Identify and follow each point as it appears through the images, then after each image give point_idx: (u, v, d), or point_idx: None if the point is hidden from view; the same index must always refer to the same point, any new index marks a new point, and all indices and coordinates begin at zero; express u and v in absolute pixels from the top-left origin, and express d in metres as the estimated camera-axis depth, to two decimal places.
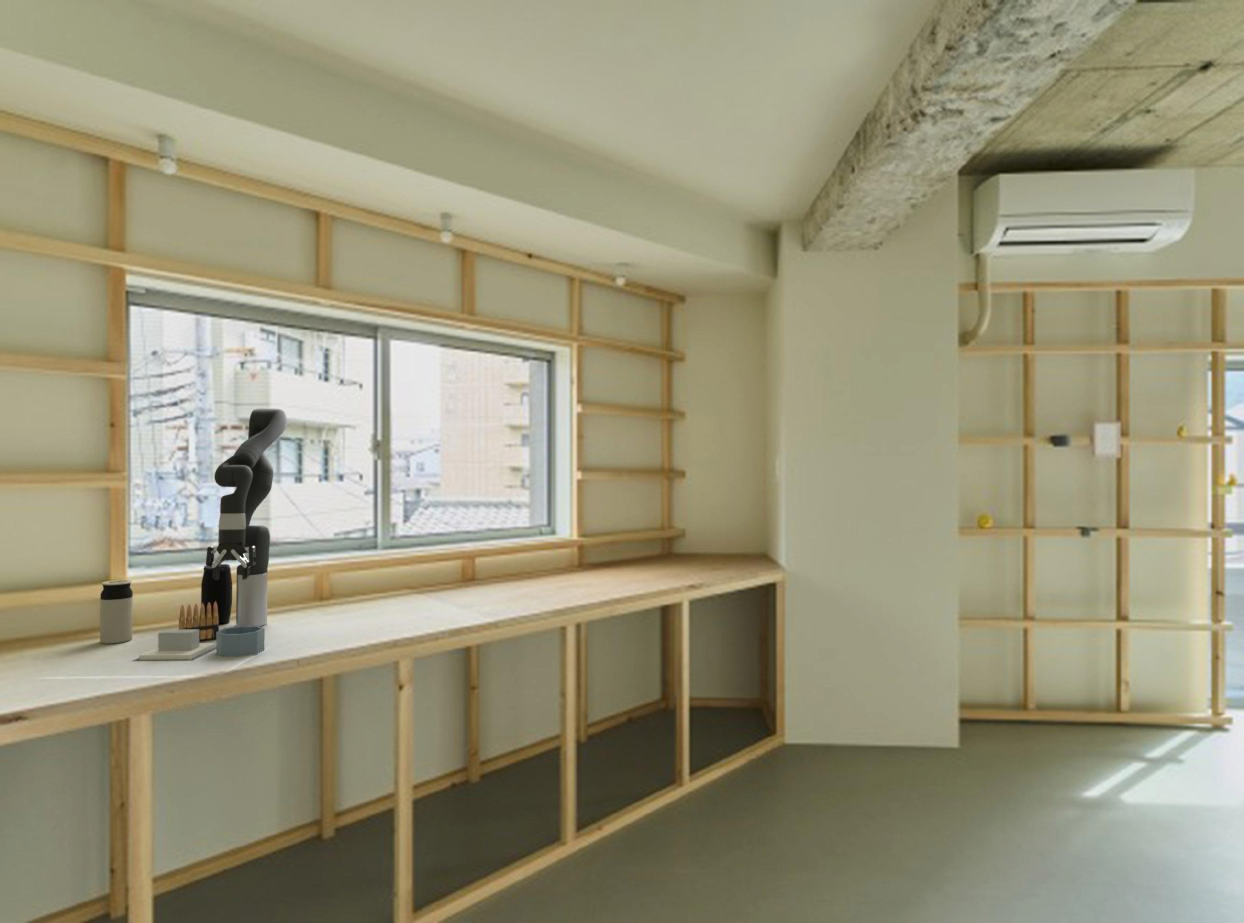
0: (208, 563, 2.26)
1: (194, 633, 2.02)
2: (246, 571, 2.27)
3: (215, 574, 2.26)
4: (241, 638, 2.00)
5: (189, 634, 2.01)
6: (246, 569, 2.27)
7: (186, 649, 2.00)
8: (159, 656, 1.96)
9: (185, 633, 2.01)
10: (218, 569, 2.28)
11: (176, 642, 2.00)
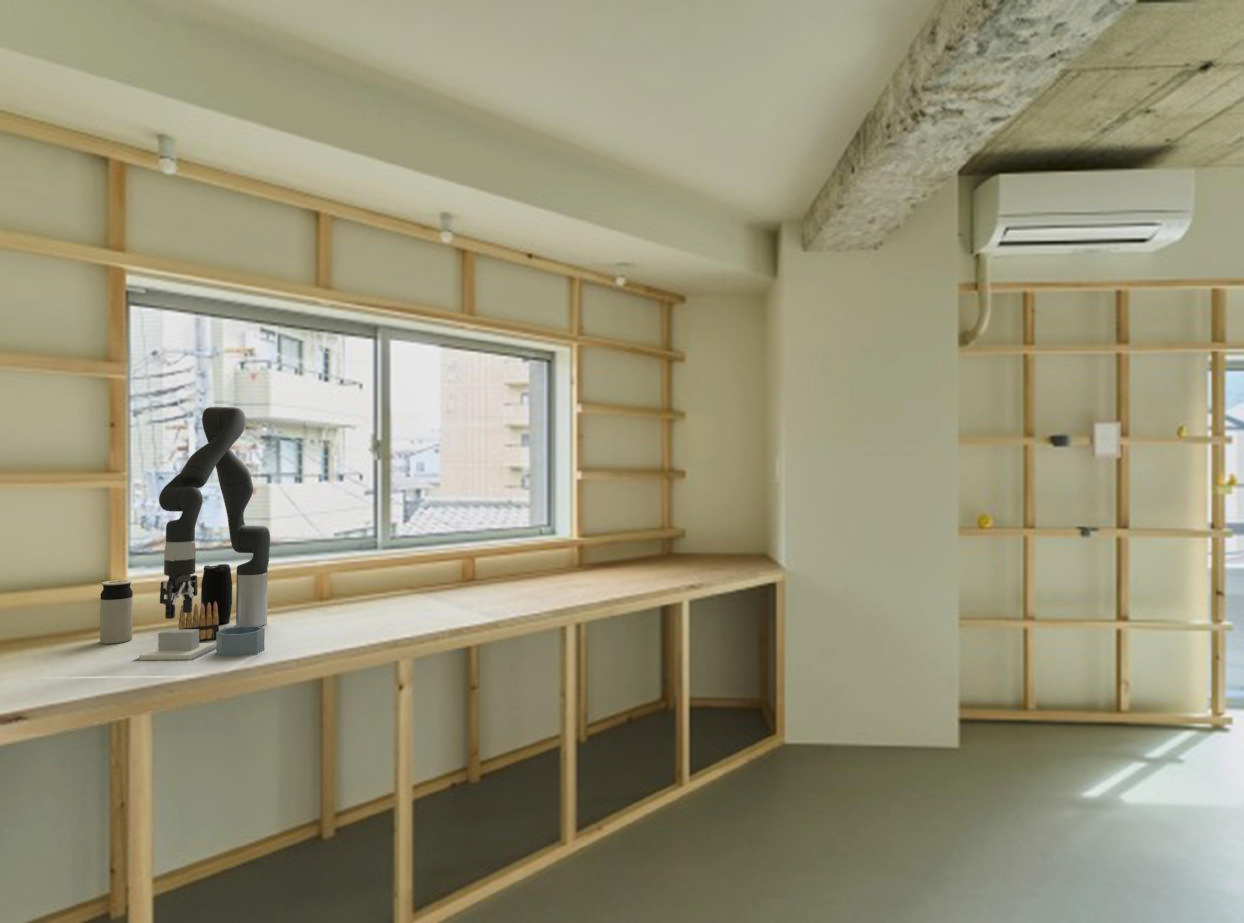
0: (170, 600, 1.96)
1: (194, 633, 2.02)
2: (191, 603, 2.07)
3: (174, 612, 1.98)
4: (241, 638, 2.00)
5: (189, 634, 2.01)
6: (191, 601, 2.07)
7: (186, 649, 2.00)
8: (159, 656, 1.96)
9: (185, 633, 2.01)
10: None
11: (176, 642, 2.00)
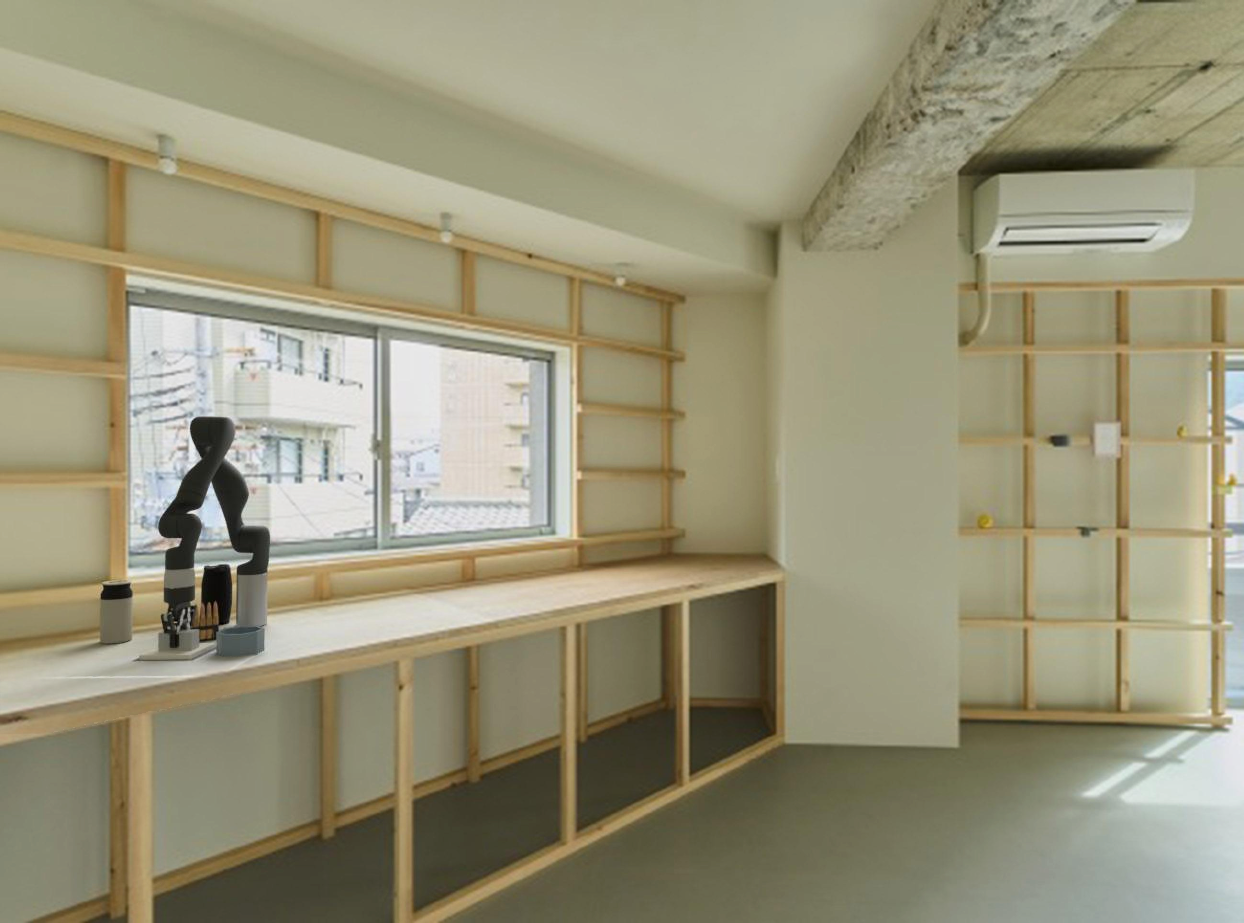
0: (174, 630, 1.98)
1: (194, 633, 2.02)
2: None
3: (178, 641, 2.00)
4: (241, 638, 2.00)
5: (189, 634, 2.01)
6: None
7: (186, 649, 2.00)
8: (159, 656, 1.96)
9: (185, 633, 2.01)
10: None
11: None
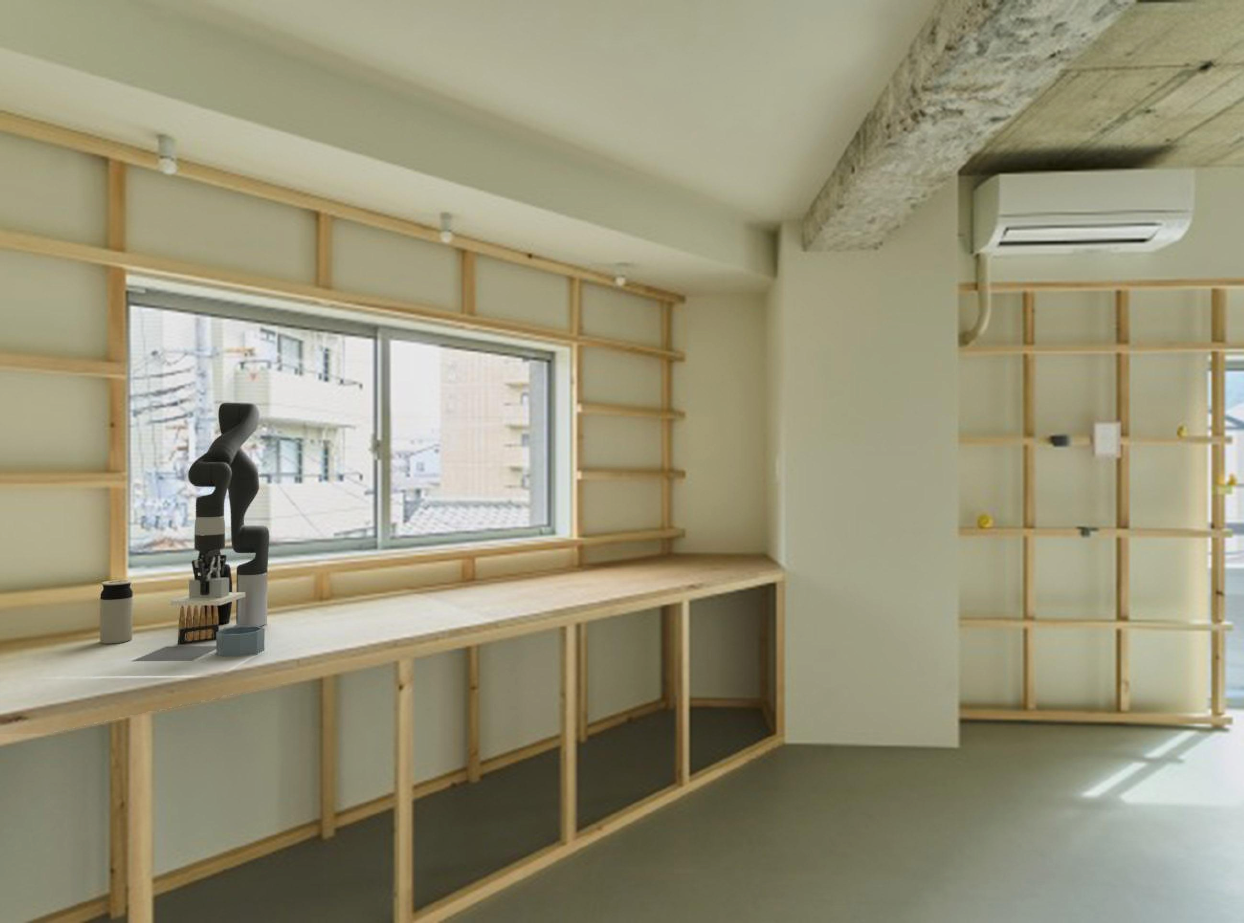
0: (205, 577, 2.00)
1: (224, 581, 2.03)
2: None
3: (208, 588, 2.02)
4: (241, 638, 2.00)
5: (219, 581, 2.02)
6: None
7: (216, 596, 2.02)
8: (190, 602, 1.97)
9: (216, 580, 2.02)
10: None
11: None
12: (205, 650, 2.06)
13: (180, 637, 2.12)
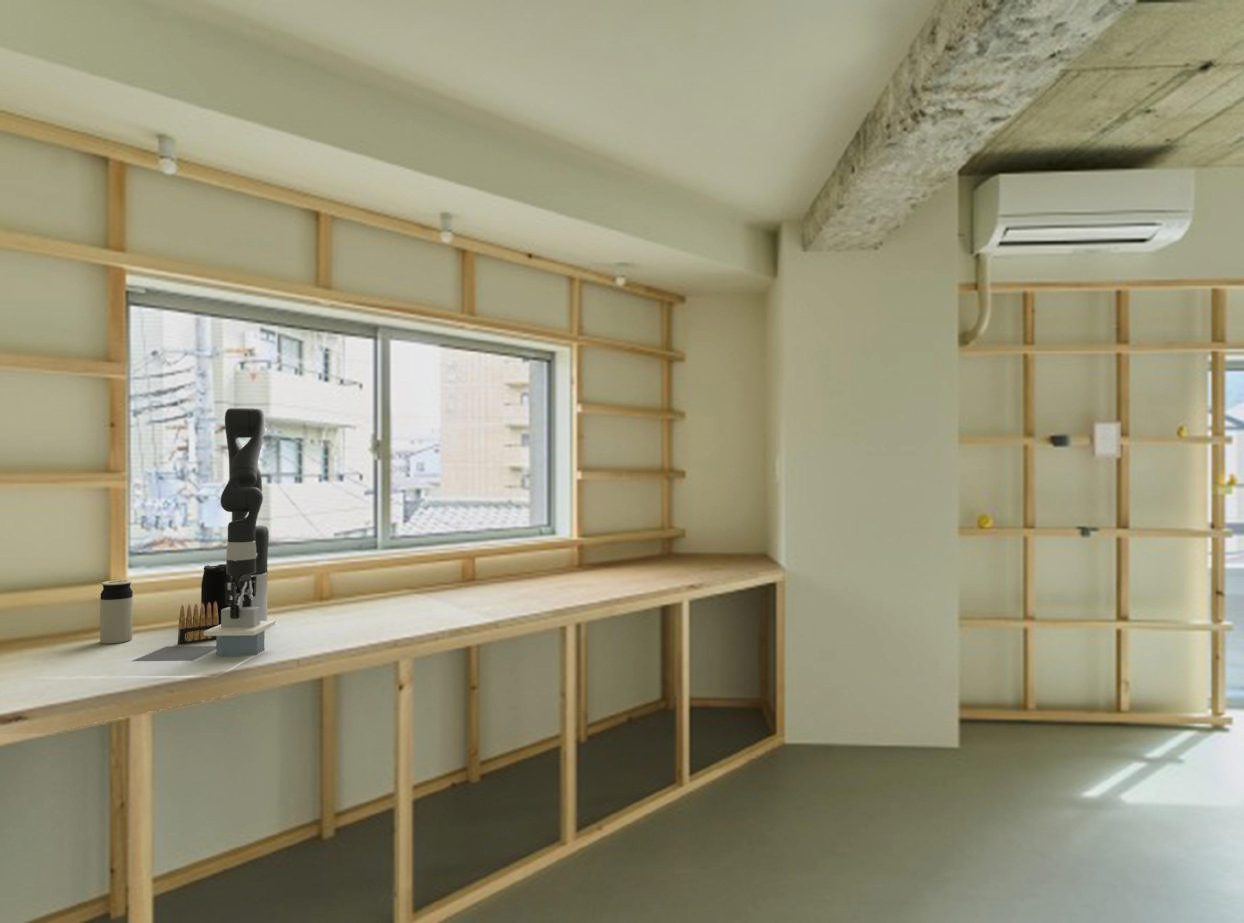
0: (235, 601, 2.00)
1: (256, 610, 2.05)
2: (250, 604, 2.09)
3: (238, 612, 2.02)
4: (241, 638, 2.00)
5: (251, 611, 2.03)
6: (250, 602, 2.09)
7: (248, 626, 2.03)
8: (223, 632, 1.98)
9: (248, 610, 2.03)
10: None
11: (239, 619, 2.03)
12: (205, 650, 2.06)
13: (180, 637, 2.12)
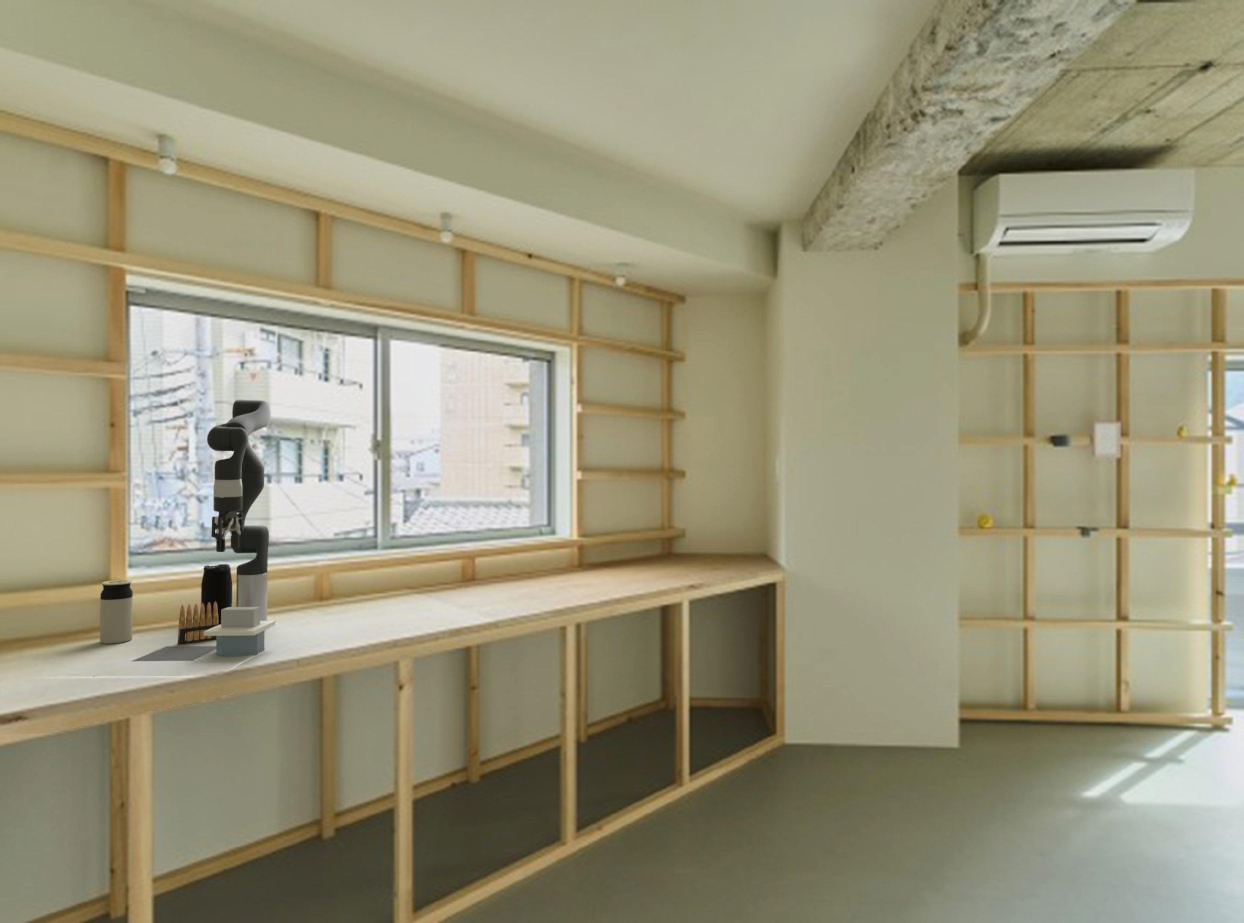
0: (221, 534, 2.07)
1: (256, 610, 2.05)
2: (238, 539, 2.18)
3: (224, 545, 2.09)
4: (241, 638, 2.00)
5: (251, 611, 2.03)
6: (238, 537, 2.18)
7: (248, 626, 2.03)
8: (223, 632, 1.98)
9: (248, 610, 2.03)
10: None
11: (239, 619, 2.03)
12: (205, 650, 2.06)
13: (180, 637, 2.12)
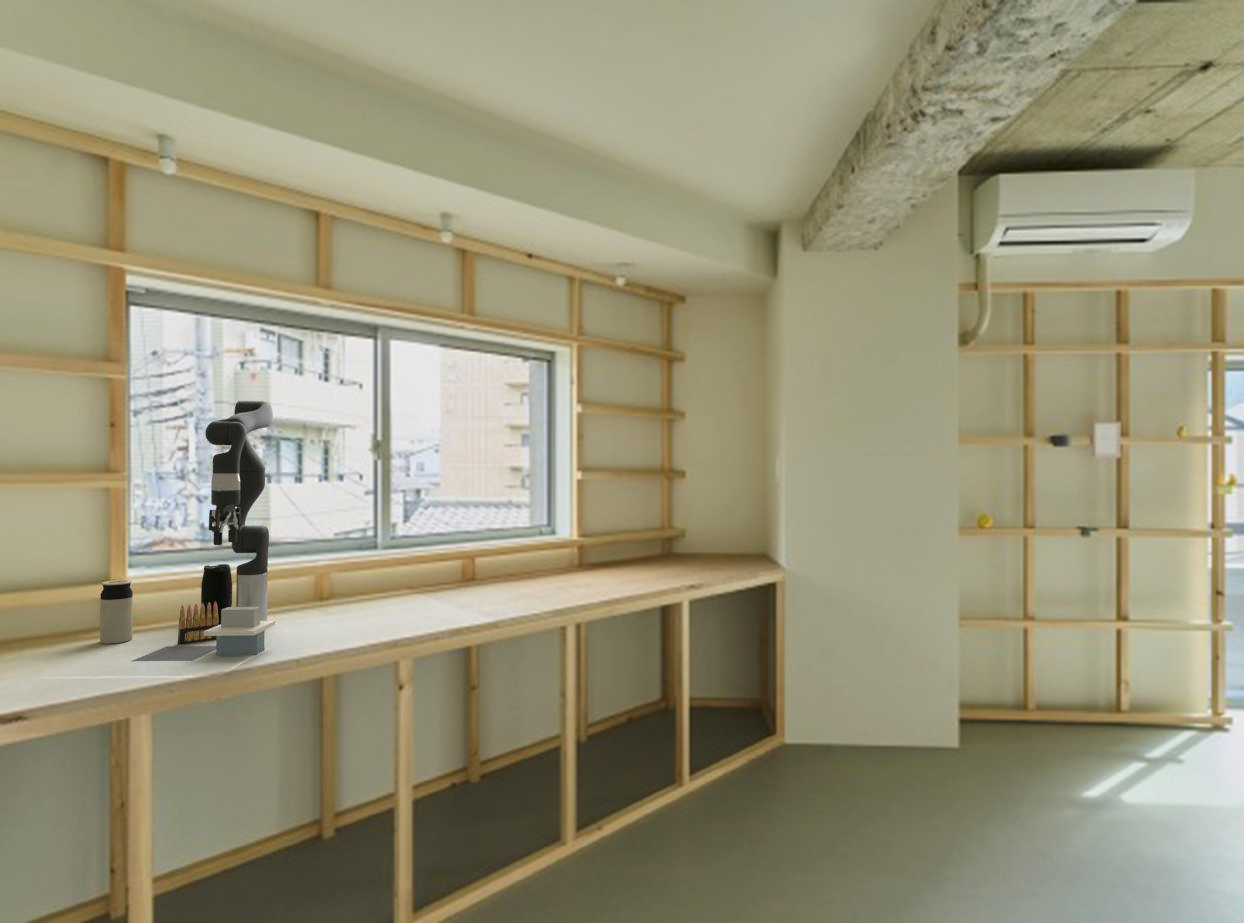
0: (218, 527, 2.08)
1: (256, 610, 2.05)
2: None
3: (221, 539, 2.10)
4: (241, 638, 2.00)
5: (251, 611, 2.03)
6: None
7: (248, 626, 2.03)
8: (223, 632, 1.98)
9: (248, 610, 2.03)
10: None
11: (239, 619, 2.03)
12: (205, 650, 2.06)
13: (180, 637, 2.12)
